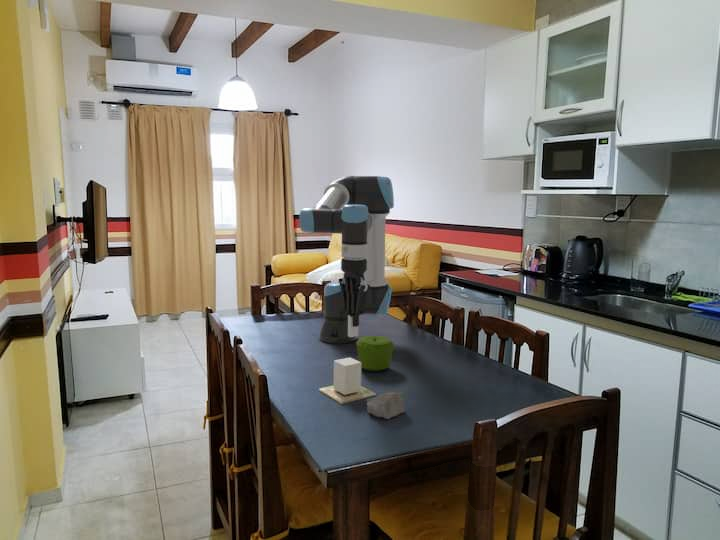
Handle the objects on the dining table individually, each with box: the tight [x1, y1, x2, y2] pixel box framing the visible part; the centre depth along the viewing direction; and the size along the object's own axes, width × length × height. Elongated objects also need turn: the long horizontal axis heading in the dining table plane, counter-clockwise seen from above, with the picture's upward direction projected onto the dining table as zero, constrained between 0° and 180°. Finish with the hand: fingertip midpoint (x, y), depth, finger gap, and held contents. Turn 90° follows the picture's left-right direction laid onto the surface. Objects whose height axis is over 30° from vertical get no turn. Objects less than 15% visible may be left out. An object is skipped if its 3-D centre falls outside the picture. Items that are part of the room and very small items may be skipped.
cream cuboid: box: [332, 357, 362, 395], centre depth 155 cm, size 6×6×9 cm
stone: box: [366, 391, 406, 420], centre depth 142 cm, size 8×10×6 cm
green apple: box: [355, 335, 395, 372], centre depth 177 cm, size 12×12×11 cm
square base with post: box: [318, 385, 376, 405], centre depth 155 cm, size 12×12×9 cm
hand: (352, 335), depth 159 cm, fingers closed
